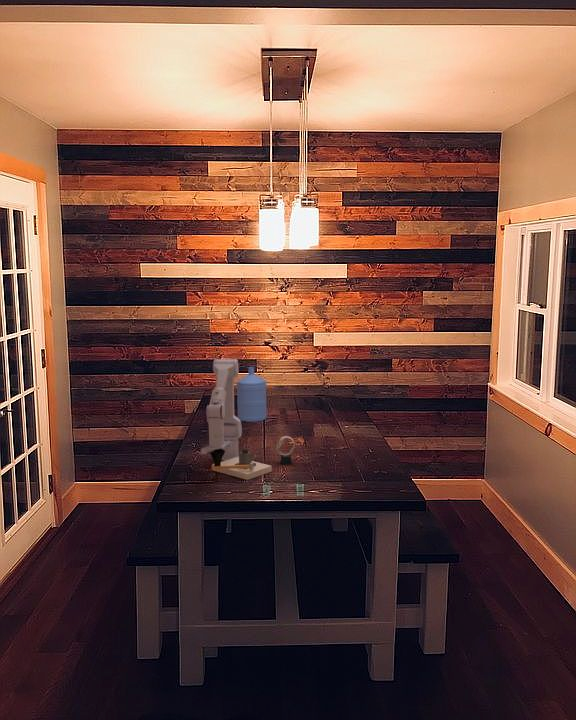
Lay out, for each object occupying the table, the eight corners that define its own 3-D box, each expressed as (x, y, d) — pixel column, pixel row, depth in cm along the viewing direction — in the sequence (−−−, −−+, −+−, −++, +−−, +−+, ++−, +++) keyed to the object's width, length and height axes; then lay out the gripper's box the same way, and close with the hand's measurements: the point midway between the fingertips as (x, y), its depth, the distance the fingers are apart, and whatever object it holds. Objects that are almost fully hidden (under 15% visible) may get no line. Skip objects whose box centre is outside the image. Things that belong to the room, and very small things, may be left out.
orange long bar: (211, 471, 269) (211, 465, 268) (211, 470, 270) (211, 464, 270) (253, 469, 271) (253, 463, 270) (253, 468, 272) (253, 462, 272)
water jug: (266, 422, 362) (265, 369, 358) (236, 422, 363) (235, 369, 358) (267, 415, 378) (266, 365, 374) (238, 415, 378) (237, 365, 374)
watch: (276, 460, 293) (275, 435, 291) (295, 460, 293) (294, 435, 291) (276, 464, 287) (275, 438, 286) (295, 464, 287) (295, 438, 286)
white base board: (212, 470, 280) (212, 464, 280) (236, 462, 291) (236, 457, 290) (247, 479, 267) (247, 474, 267) (271, 471, 278) (271, 465, 277)
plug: (235, 472, 277) (234, 449, 276) (245, 468, 282) (244, 446, 280) (245, 475, 273) (245, 451, 272) (256, 471, 278) (255, 448, 277)
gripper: (209, 439, 261) (210, 474, 263) (236, 432, 272) (237, 465, 274) (197, 436, 266) (198, 470, 268) (224, 429, 277) (225, 462, 279)
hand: (217, 467), depth 271 cm, fingers closed, pressing on orange long bar
